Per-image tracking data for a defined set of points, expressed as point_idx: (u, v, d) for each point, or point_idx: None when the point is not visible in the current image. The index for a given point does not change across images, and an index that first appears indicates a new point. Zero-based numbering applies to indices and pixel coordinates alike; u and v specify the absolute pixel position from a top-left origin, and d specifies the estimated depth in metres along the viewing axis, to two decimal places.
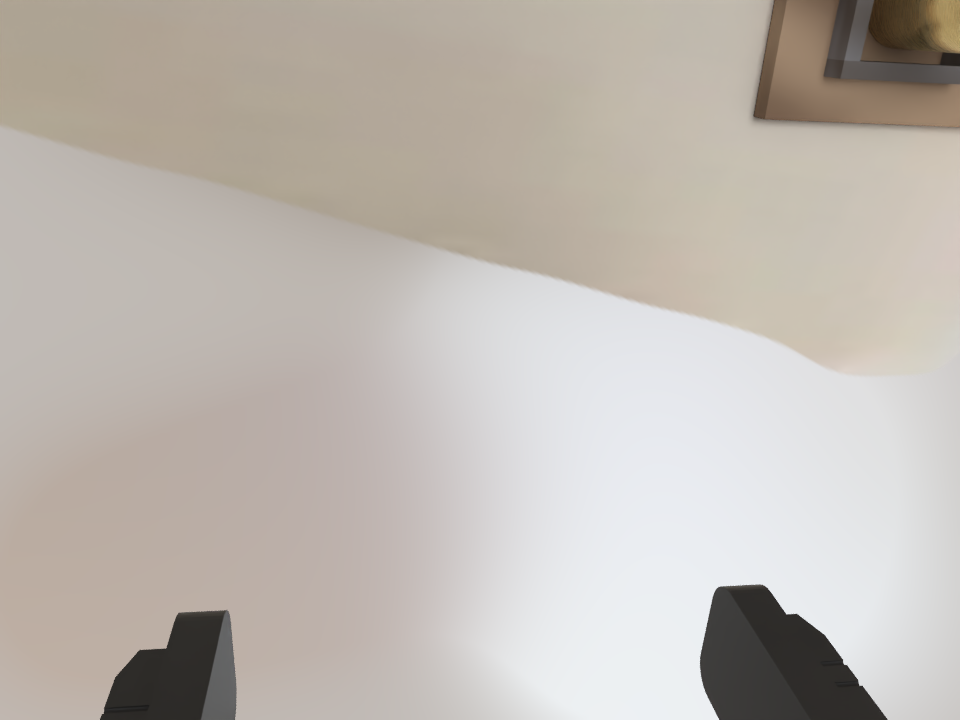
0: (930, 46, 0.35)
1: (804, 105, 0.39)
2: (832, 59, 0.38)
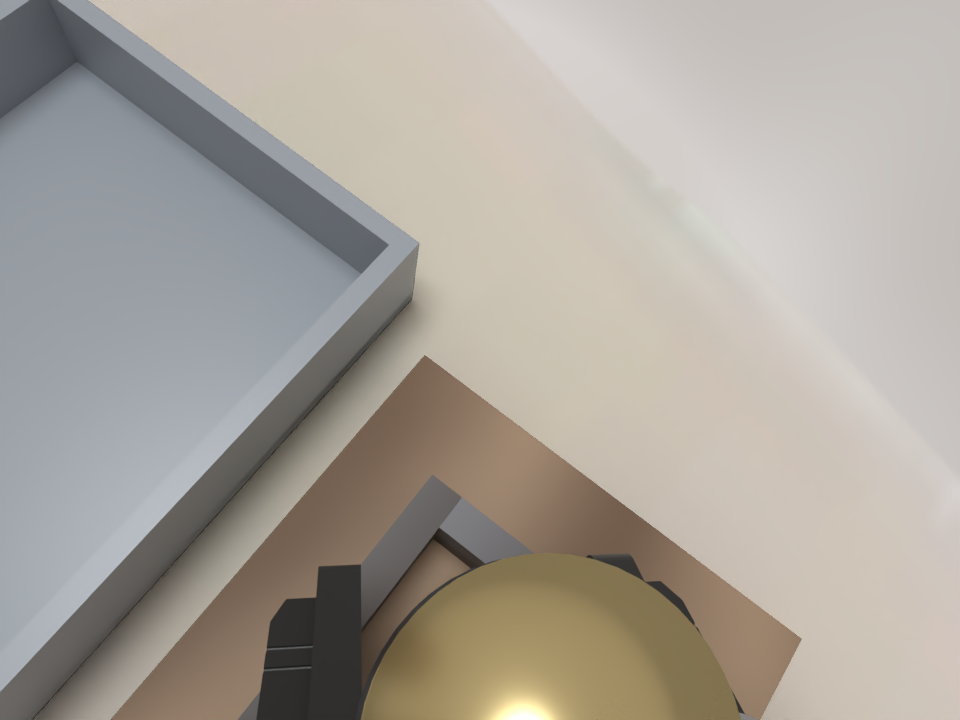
0: None
1: None
2: None
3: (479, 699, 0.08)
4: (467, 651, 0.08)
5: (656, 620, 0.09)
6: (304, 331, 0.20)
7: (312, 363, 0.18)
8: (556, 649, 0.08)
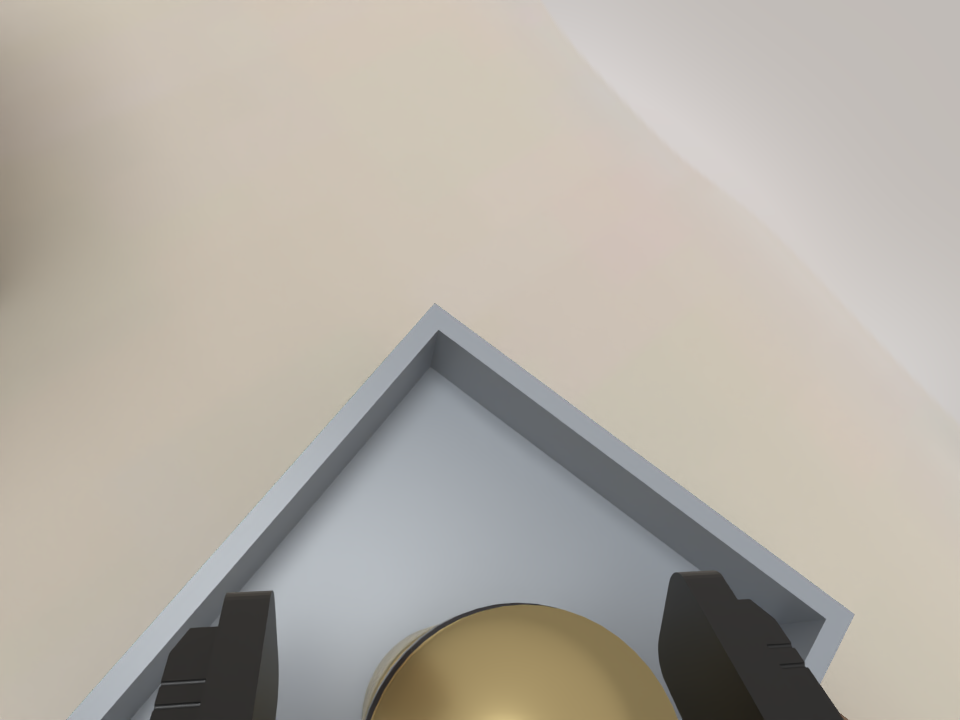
0: None
1: None
2: None
3: None
4: (453, 691, 0.10)
5: (616, 662, 0.10)
6: None
7: None
8: (529, 689, 0.10)
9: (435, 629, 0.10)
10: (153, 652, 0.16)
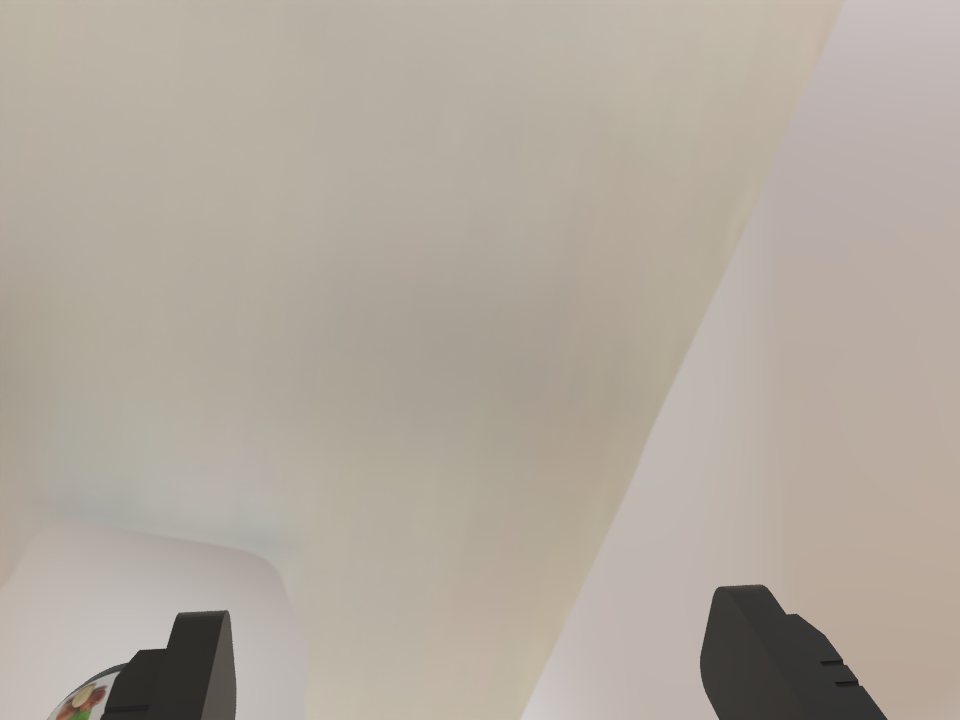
0: None
1: None
2: None
3: None
4: None
5: None
6: None
7: None
8: None
9: None
10: None
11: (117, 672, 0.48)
